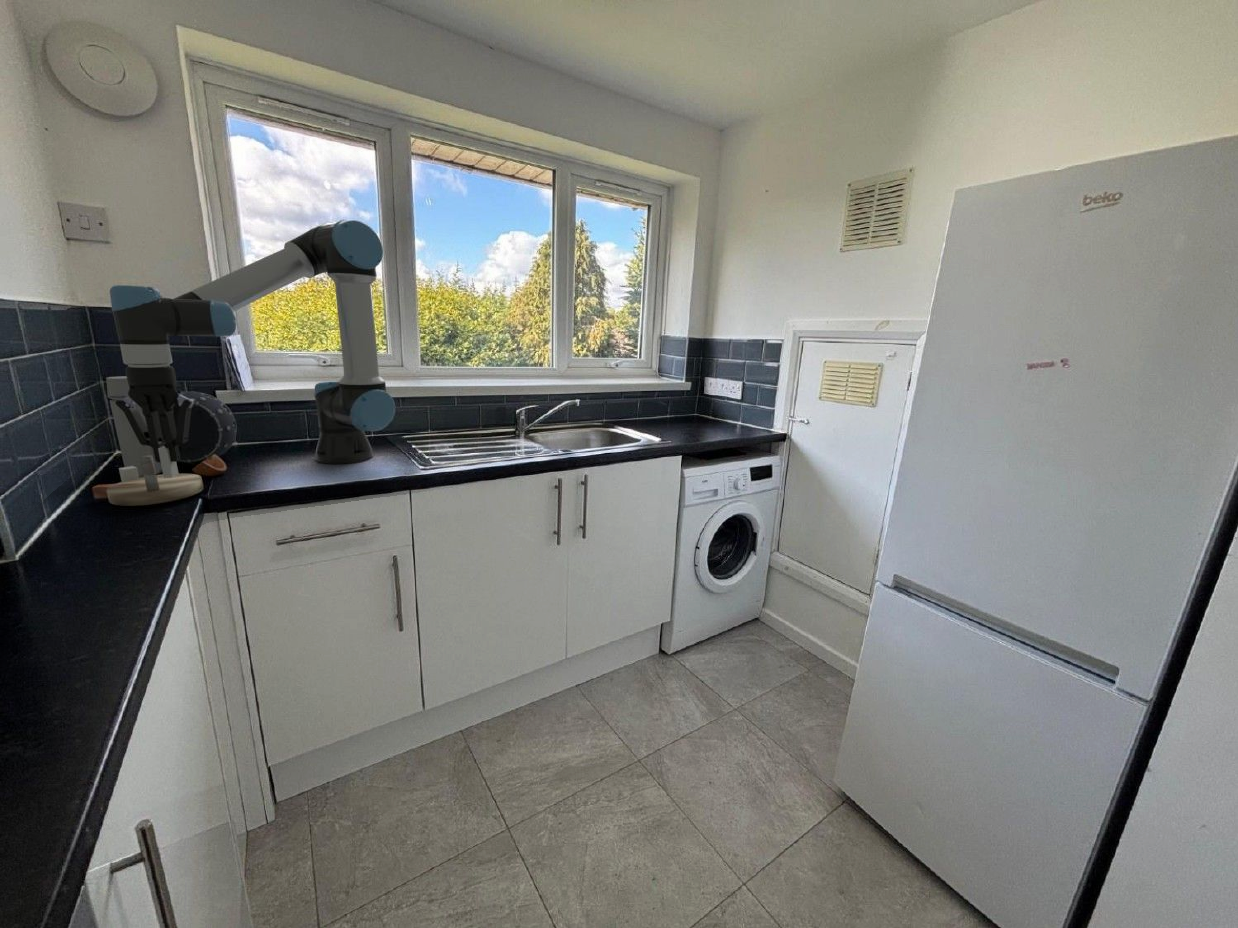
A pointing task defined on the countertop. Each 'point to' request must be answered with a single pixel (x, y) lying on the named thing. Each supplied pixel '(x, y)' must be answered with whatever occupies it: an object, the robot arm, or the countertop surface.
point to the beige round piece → (150, 487)
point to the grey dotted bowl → (205, 428)
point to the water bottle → (128, 427)
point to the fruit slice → (211, 466)
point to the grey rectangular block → (128, 473)
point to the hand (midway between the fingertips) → (171, 476)
